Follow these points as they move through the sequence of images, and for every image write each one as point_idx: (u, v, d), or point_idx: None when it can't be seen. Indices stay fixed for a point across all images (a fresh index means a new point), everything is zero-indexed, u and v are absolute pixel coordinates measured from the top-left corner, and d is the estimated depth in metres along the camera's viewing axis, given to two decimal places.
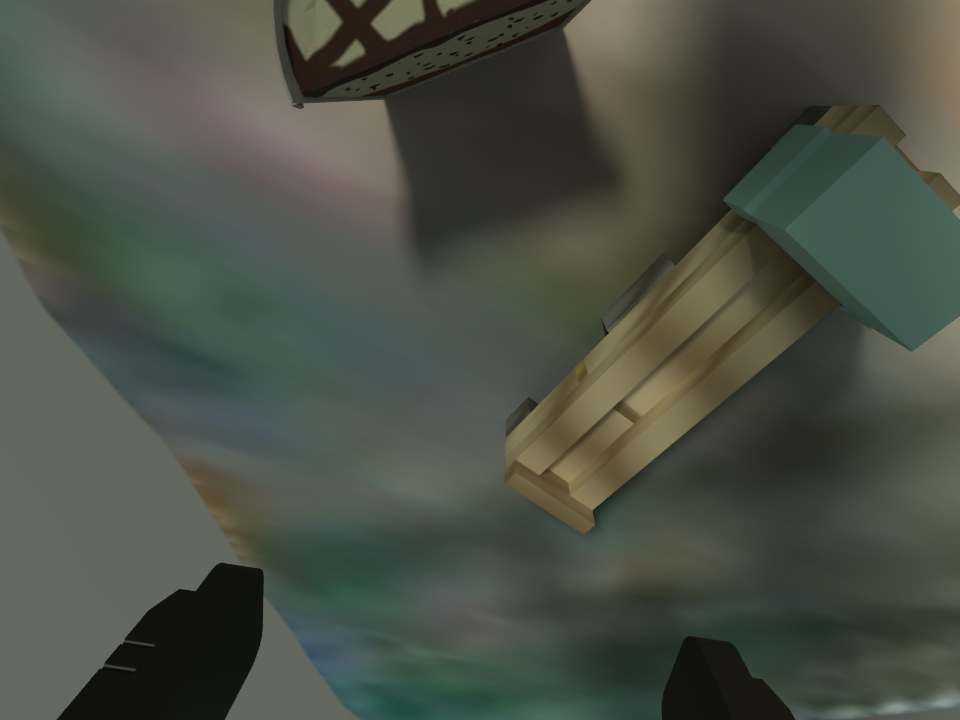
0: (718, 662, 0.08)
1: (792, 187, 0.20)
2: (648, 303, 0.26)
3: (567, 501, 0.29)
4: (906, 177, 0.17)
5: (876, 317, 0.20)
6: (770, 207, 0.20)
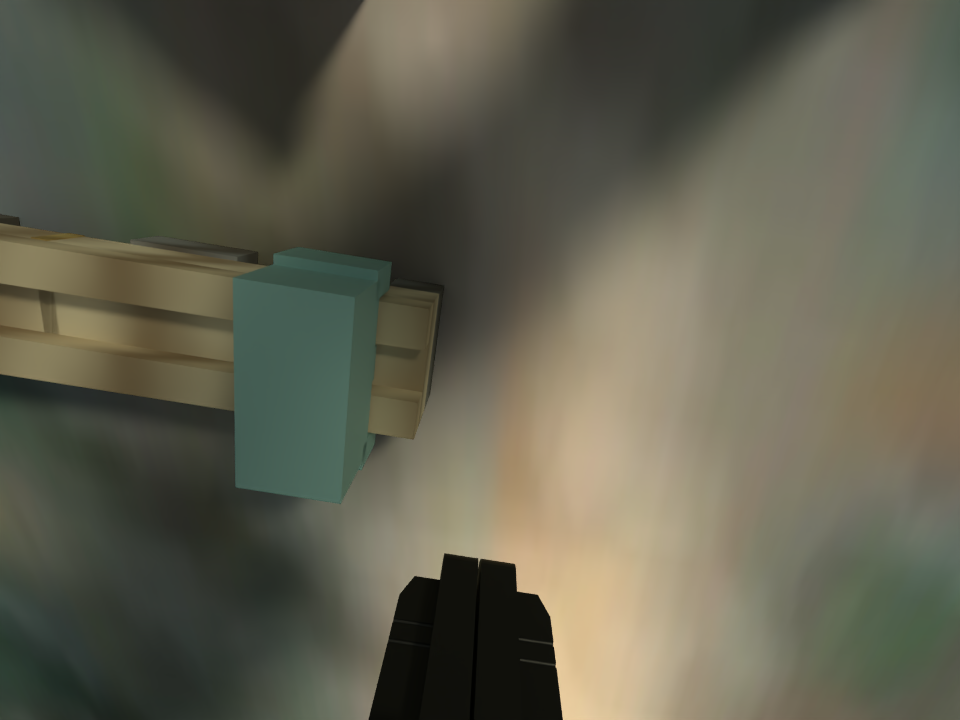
0: (491, 577, 0.09)
1: (304, 275, 0.18)
2: (176, 256, 0.22)
3: None
4: (342, 347, 0.17)
5: (235, 431, 0.18)
6: (279, 270, 0.18)
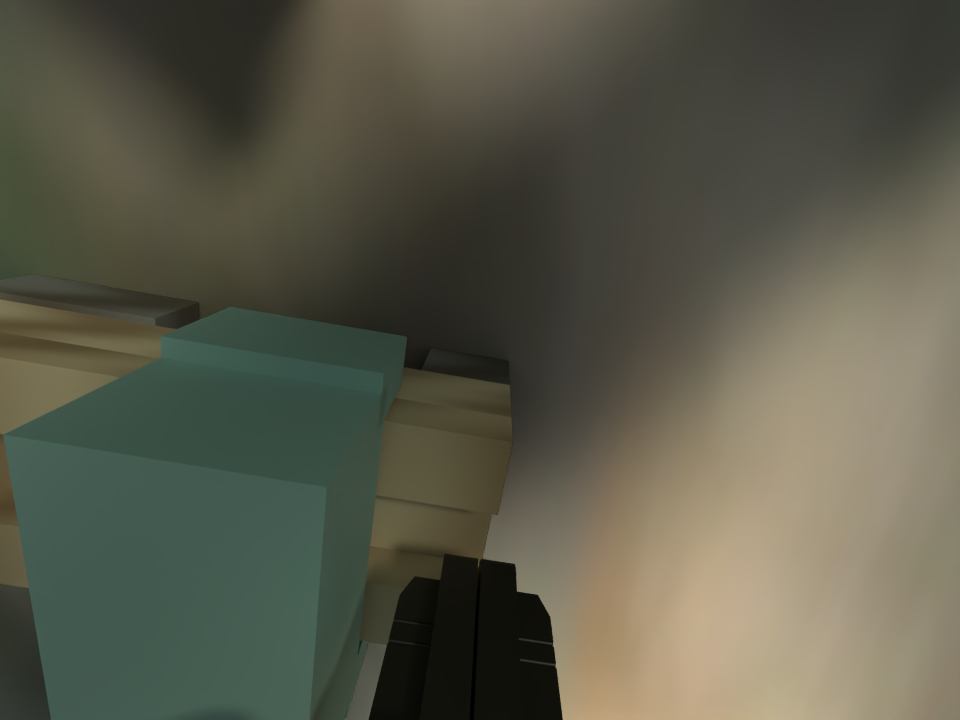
0: (491, 577, 0.09)
1: (219, 391, 0.08)
2: (37, 320, 0.12)
3: None
4: (297, 595, 0.07)
5: None
6: (165, 378, 0.08)
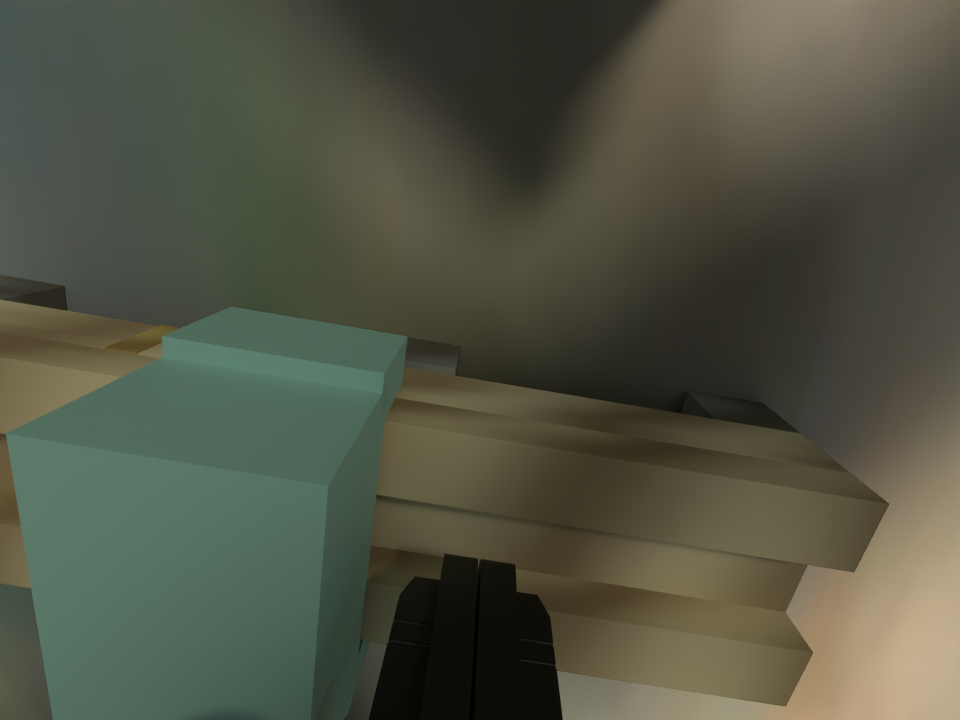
0: (491, 577, 0.09)
1: (221, 391, 0.08)
2: None
3: None
4: (298, 594, 0.07)
5: None
6: (166, 378, 0.08)
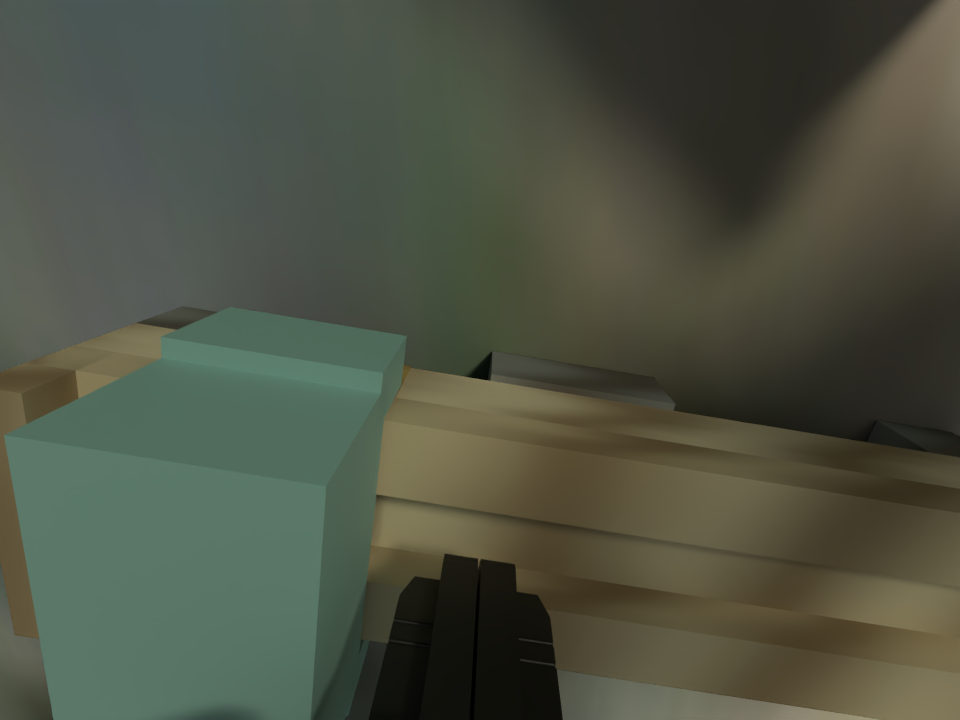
0: (491, 577, 0.09)
1: (219, 392, 0.08)
2: (596, 412, 0.12)
3: None
4: (297, 594, 0.07)
5: None
6: (165, 379, 0.08)
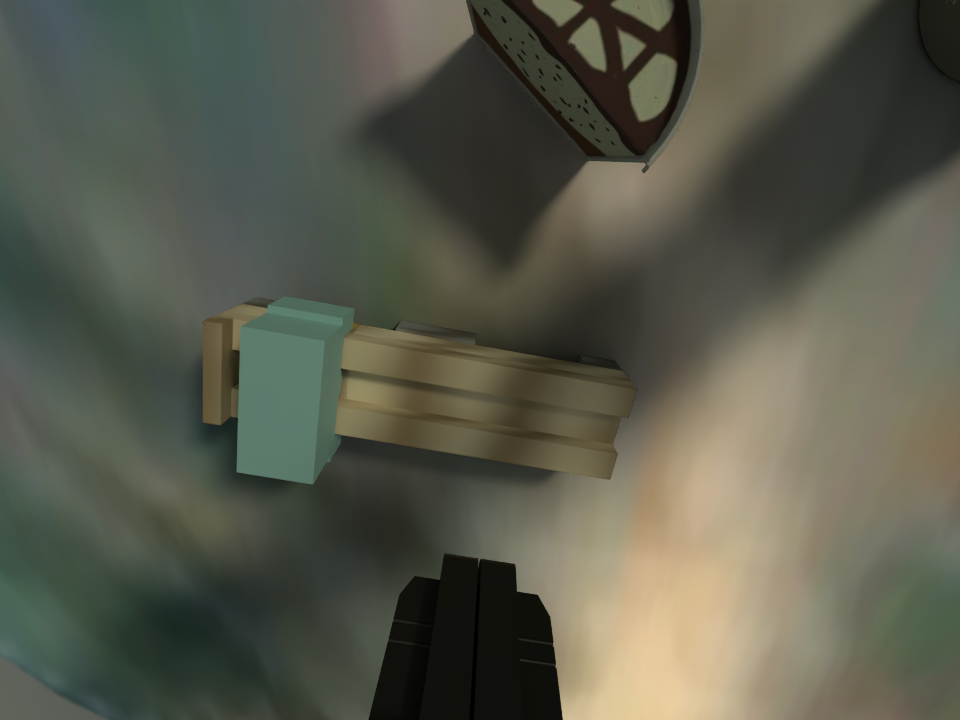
0: (491, 577, 0.09)
1: (290, 321, 0.25)
2: (437, 342, 0.30)
3: (225, 388, 0.28)
4: (315, 374, 0.24)
5: (238, 431, 0.25)
6: (272, 317, 0.25)
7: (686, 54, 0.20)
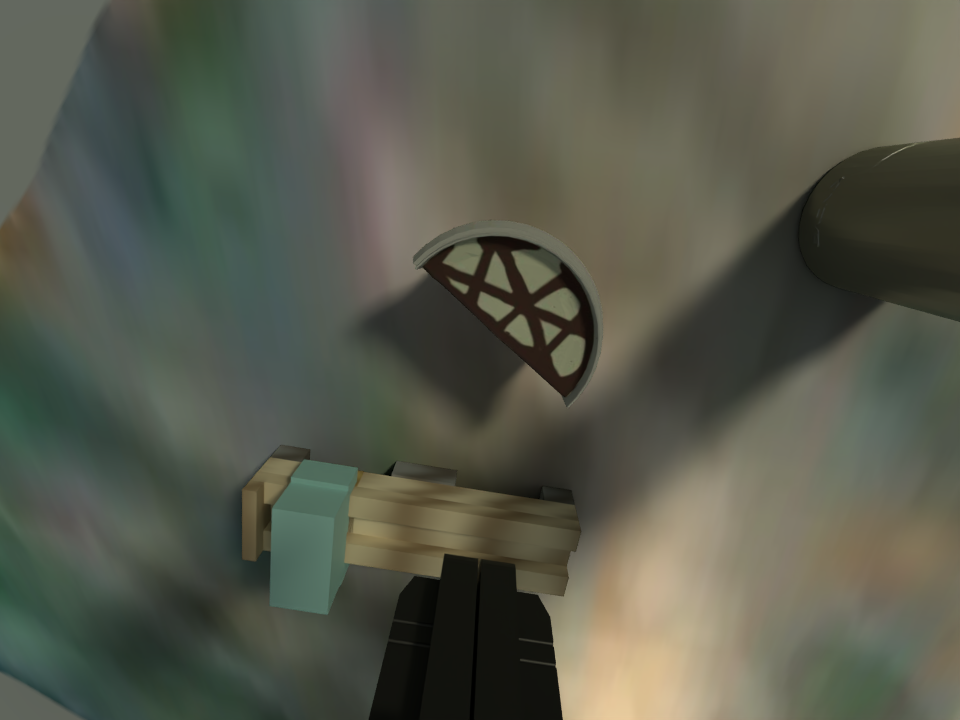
0: (491, 577, 0.09)
1: (308, 493, 0.33)
2: (424, 488, 0.38)
3: (259, 533, 0.36)
4: (328, 540, 0.32)
5: (270, 578, 0.33)
6: (294, 490, 0.33)
7: (591, 335, 0.27)
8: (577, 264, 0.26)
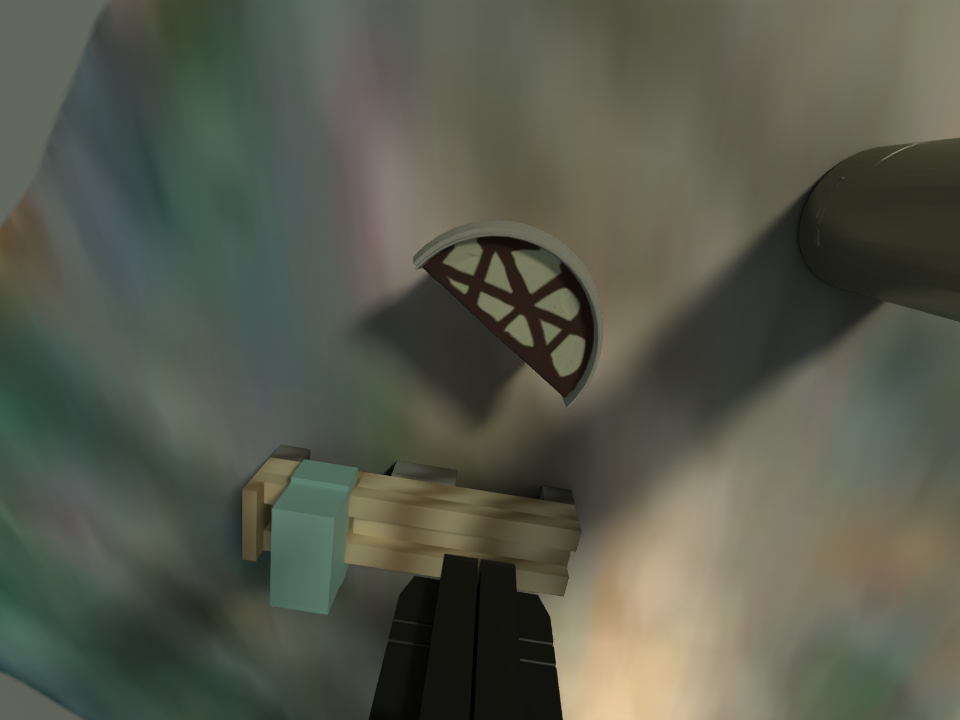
0: (491, 577, 0.09)
1: (308, 493, 0.33)
2: (424, 488, 0.38)
3: (259, 533, 0.36)
4: (328, 540, 0.32)
5: (270, 578, 0.33)
6: (294, 490, 0.33)
7: (591, 335, 0.27)
8: (577, 264, 0.26)
